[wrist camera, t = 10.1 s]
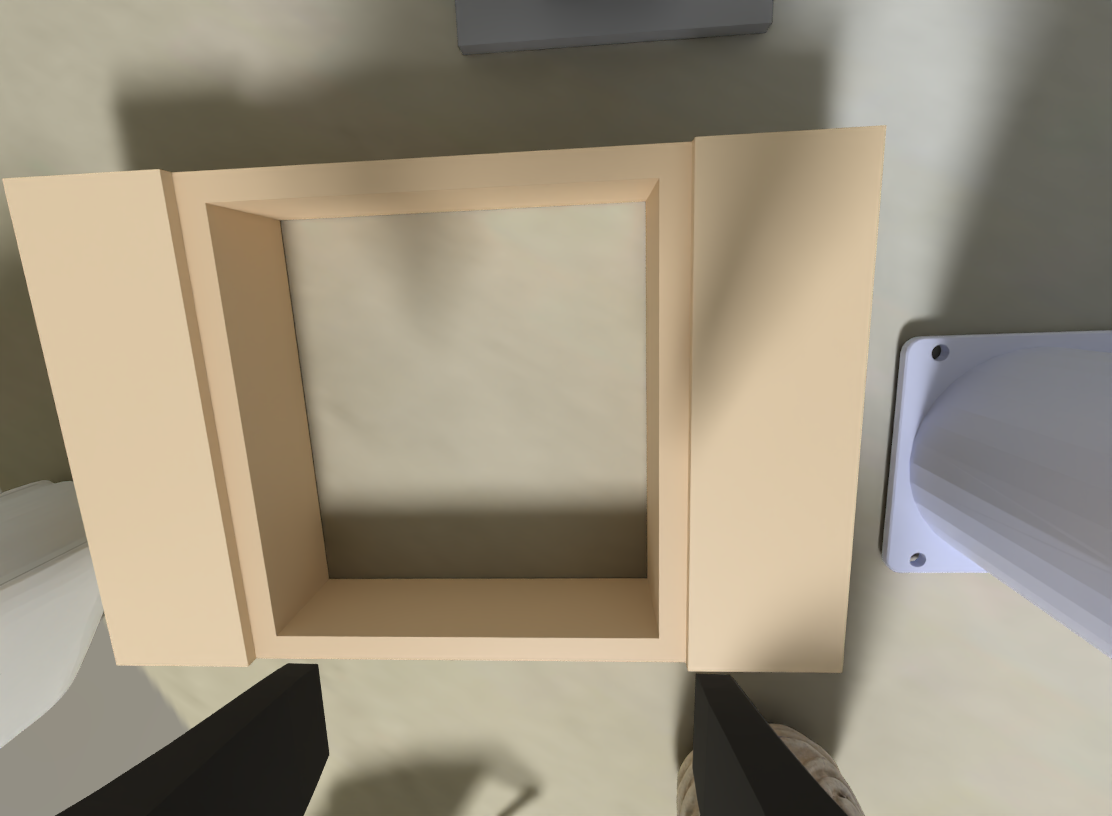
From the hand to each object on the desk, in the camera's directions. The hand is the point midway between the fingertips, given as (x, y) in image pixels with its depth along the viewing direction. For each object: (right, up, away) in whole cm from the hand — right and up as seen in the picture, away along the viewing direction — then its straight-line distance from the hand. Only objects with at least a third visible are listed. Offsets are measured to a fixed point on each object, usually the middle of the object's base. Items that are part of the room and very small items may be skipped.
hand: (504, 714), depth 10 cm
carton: (-2, +6, +9) cm, 10 cm away
